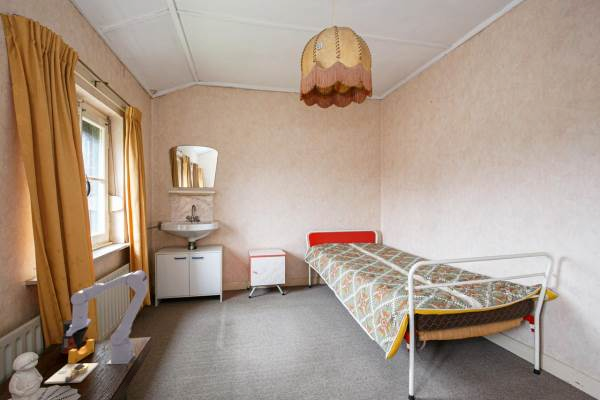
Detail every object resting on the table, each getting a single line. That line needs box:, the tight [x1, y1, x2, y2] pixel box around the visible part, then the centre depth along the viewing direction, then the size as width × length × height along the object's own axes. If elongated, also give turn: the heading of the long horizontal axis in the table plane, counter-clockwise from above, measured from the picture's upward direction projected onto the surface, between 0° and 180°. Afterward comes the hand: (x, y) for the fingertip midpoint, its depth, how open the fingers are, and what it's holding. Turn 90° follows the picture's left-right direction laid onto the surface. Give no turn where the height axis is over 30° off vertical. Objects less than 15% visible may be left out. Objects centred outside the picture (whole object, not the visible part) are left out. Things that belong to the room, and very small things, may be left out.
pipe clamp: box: [67, 338, 96, 364], centre depth 134 cm, size 12×4×6 cm, turn 176°
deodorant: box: [61, 319, 78, 355], centre depth 140 cm, size 6×6×15 cm
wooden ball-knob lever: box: [64, 363, 88, 384], centre depth 119 cm, size 11×6×2 cm, turn 9°
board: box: [44, 362, 100, 385], centre depth 121 cm, size 14×13×4 cm
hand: (78, 344), depth 129 cm, fingers closed
